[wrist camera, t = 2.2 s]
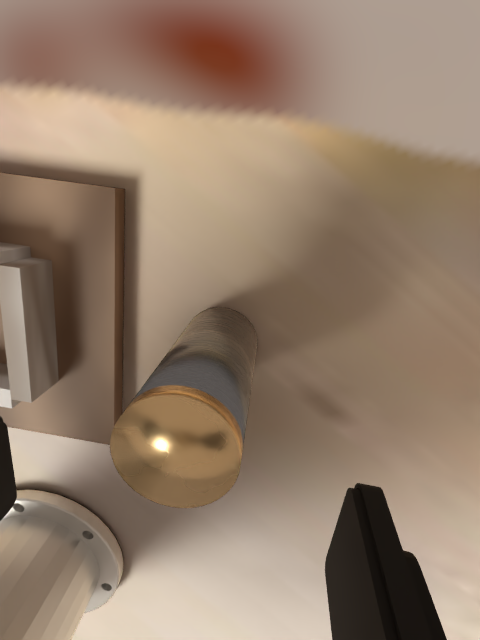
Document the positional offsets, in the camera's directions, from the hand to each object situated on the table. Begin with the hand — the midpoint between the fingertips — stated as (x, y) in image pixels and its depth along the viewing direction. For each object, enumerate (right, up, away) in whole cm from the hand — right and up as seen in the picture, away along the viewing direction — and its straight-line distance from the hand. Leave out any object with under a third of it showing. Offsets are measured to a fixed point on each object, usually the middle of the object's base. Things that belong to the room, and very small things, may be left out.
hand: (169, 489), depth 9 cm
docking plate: (-13, +5, +12) cm, 19 cm away
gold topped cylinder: (+1, +3, +12) cm, 12 cm away
